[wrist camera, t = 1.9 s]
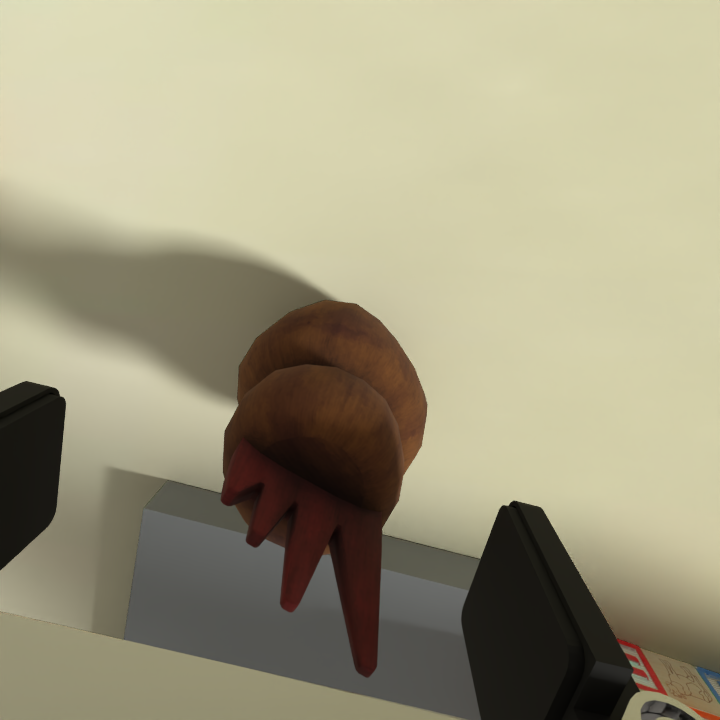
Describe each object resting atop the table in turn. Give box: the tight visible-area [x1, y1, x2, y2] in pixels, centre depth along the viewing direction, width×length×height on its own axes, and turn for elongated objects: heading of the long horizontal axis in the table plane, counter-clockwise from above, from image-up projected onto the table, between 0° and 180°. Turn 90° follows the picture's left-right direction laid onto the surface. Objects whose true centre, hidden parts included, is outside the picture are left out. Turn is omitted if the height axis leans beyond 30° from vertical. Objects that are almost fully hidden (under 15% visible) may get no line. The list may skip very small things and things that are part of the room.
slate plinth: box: [124, 480, 481, 720], centre depth 26 cm, size 18×18×2 cm
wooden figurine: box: [221, 300, 427, 678], centre depth 15 cm, size 7×6×15 cm
